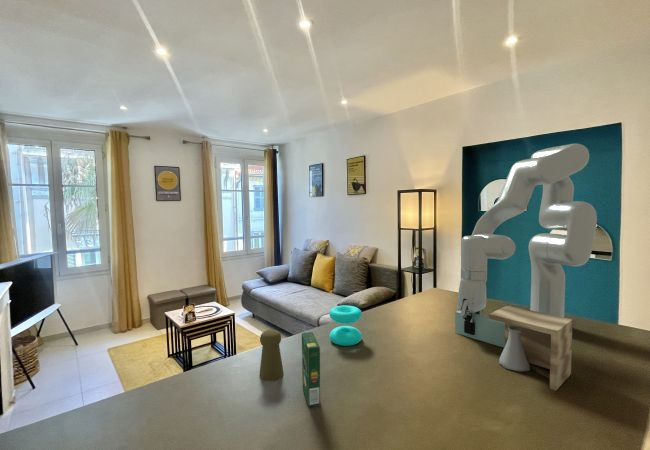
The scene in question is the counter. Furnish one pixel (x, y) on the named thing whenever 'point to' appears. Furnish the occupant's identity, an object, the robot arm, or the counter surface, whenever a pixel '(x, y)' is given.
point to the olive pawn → (271, 356)
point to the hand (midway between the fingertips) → (472, 331)
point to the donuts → (345, 333)
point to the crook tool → (483, 329)
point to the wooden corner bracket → (541, 339)
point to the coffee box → (311, 368)
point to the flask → (514, 352)
